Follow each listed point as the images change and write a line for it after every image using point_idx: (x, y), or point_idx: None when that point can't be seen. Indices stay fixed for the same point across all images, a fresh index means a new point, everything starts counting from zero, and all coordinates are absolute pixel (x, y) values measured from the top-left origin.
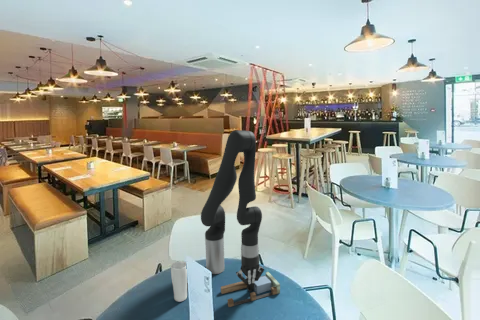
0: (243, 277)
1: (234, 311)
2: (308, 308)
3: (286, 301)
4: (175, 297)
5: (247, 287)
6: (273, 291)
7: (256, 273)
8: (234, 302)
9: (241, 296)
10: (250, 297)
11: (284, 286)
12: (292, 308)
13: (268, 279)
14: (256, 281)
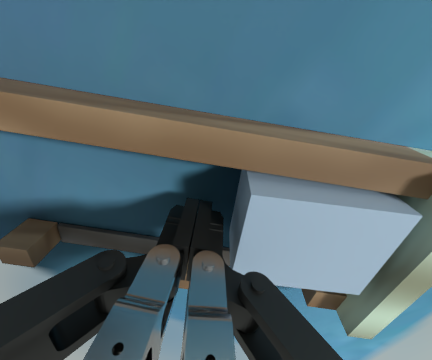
0: (77, 309)
1: (61, 262)
2: None
3: (306, 316)
4: None
5: (170, 220)
6: (305, 292)
7: (283, 355)
8: (68, 228)
9: (128, 201)
10: None
11: None
12: None
13: (378, 266)
14: (268, 239)
